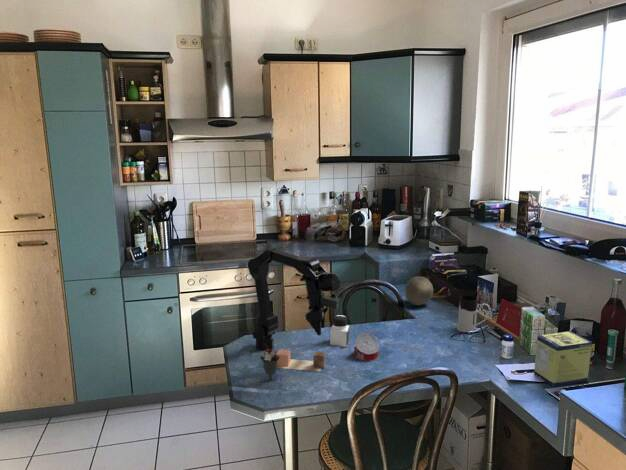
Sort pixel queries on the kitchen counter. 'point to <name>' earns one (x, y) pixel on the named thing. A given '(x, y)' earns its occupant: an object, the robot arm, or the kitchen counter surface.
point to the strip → (307, 363)
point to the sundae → (270, 362)
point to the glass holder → (468, 313)
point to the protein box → (562, 358)
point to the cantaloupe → (418, 290)
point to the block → (283, 357)
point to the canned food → (366, 347)
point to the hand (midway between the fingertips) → (321, 331)
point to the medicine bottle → (339, 331)
